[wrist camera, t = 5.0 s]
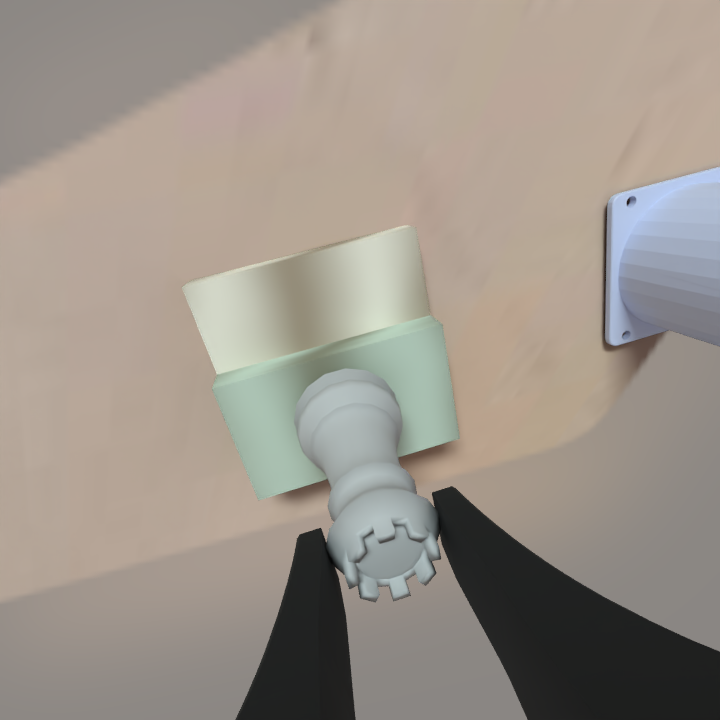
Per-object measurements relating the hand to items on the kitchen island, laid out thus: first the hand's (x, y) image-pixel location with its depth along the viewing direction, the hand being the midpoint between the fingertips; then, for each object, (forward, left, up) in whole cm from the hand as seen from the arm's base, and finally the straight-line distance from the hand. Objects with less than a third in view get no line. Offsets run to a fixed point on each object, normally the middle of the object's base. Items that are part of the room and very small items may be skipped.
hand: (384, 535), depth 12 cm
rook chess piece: (0, 0, -7) cm, 7 cm away
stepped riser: (0, -2, -10) cm, 10 cm away
